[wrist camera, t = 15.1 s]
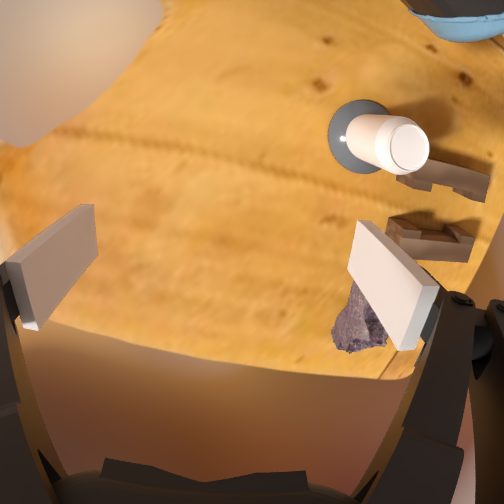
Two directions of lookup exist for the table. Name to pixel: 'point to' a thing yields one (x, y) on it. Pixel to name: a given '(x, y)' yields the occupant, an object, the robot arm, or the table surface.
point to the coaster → (339, 134)
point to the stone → (358, 325)
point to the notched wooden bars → (452, 237)
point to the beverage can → (388, 142)
